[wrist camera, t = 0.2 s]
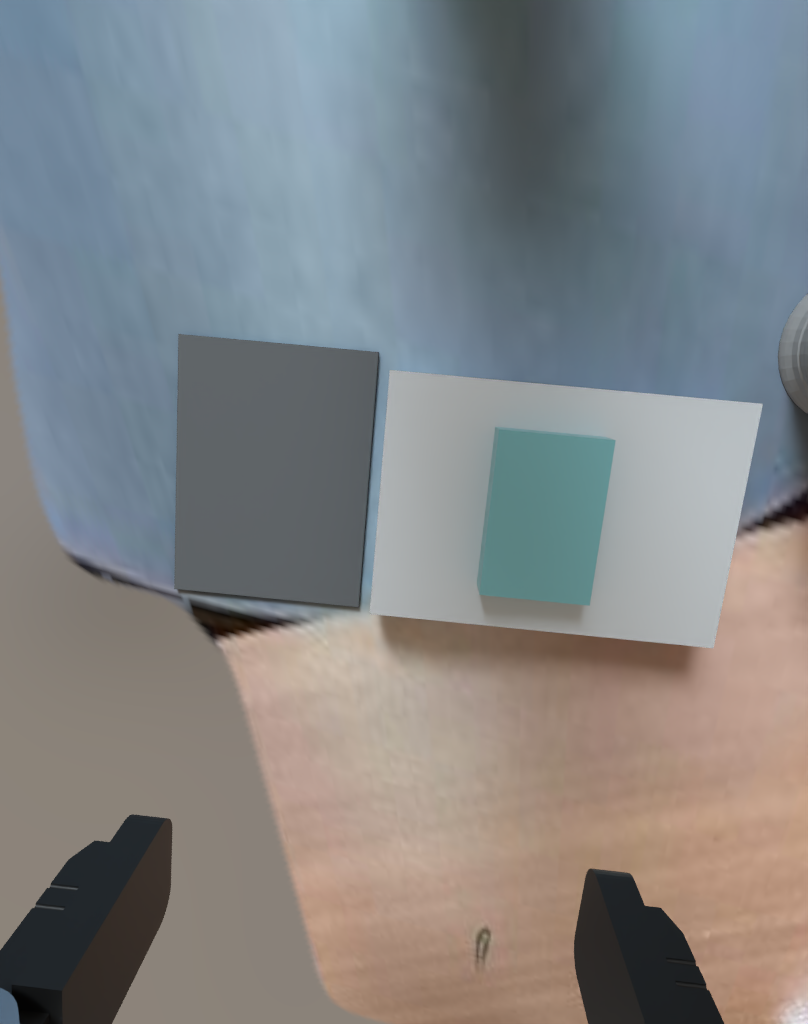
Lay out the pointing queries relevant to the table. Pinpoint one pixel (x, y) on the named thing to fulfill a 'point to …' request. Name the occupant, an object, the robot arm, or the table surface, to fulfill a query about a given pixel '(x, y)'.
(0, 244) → the table surface
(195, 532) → the mat
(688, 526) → the plate
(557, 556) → the teal rectangular box
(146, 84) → the table surface
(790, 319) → the glass holder
